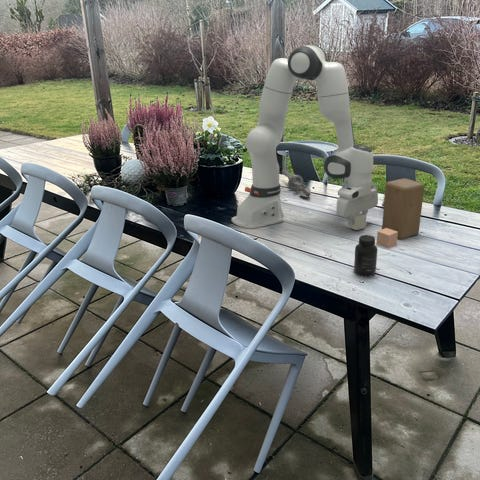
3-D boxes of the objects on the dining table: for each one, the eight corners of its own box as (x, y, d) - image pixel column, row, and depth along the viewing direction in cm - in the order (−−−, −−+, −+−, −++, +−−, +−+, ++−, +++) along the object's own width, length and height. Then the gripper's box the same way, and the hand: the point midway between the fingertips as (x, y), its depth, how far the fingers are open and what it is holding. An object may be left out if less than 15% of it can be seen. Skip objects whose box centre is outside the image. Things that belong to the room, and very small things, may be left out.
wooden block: (399, 240, 172) (405, 188, 164) (380, 231, 180) (384, 181, 172) (419, 234, 176) (426, 183, 168) (399, 226, 184) (405, 177, 176)
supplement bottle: (350, 268, 153) (353, 234, 148) (371, 266, 154) (374, 232, 149) (357, 277, 147) (359, 242, 142) (378, 276, 147) (381, 241, 142)
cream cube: (357, 230, 181) (358, 218, 179) (347, 226, 184) (347, 214, 182) (365, 227, 183) (366, 215, 181) (355, 223, 187) (356, 211, 185)
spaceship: (292, 165, 246) (279, 161, 243) (319, 190, 216) (305, 186, 213) (286, 178, 249) (273, 175, 246) (312, 205, 219) (298, 201, 216)
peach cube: (387, 248, 166) (389, 235, 164) (376, 244, 170) (377, 231, 168) (396, 244, 169) (397, 231, 167) (385, 240, 172) (386, 227, 170)
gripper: (370, 181, 185) (367, 214, 191) (334, 192, 174) (332, 226, 180) (383, 184, 181) (380, 218, 186) (347, 195, 170) (345, 231, 175)
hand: (356, 222), depth 183 cm, fingers closed on cream cube, 5 cm apart
